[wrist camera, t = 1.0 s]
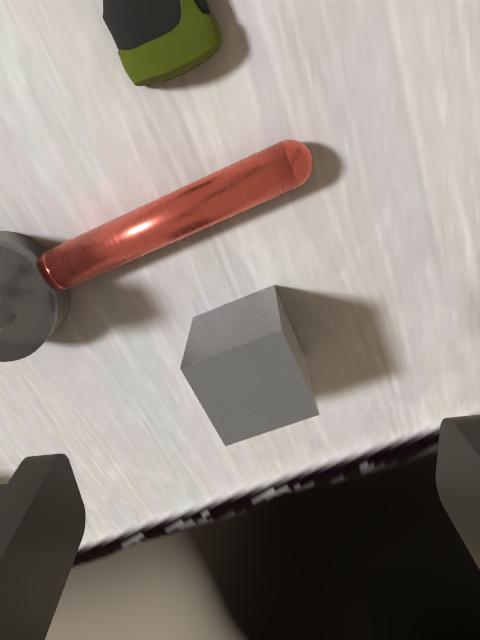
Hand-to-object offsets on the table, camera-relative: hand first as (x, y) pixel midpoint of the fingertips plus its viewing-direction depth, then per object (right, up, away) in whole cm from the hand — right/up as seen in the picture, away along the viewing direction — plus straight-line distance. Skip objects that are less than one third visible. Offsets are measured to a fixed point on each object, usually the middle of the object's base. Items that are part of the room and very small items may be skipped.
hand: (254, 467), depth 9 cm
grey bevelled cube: (0, +2, +18) cm, 19 cm away
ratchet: (-7, +8, +16) cm, 19 cm away
